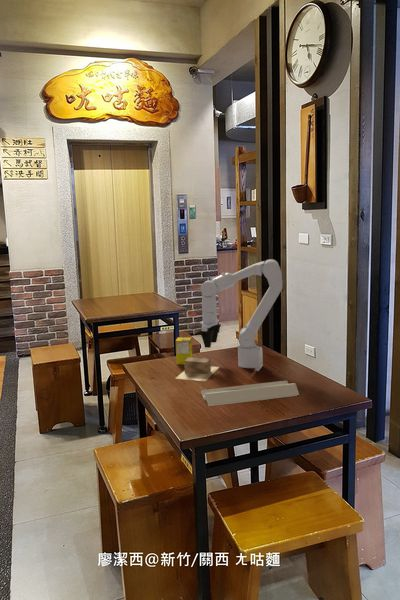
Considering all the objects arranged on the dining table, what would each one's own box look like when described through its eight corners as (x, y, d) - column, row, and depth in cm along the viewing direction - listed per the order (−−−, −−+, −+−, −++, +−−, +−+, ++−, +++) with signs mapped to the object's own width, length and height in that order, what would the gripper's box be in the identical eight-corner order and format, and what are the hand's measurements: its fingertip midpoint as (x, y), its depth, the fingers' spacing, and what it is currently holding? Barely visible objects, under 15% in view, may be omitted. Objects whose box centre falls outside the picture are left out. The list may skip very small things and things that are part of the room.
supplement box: (192, 362, 205) (191, 336, 203) (191, 366, 199) (190, 340, 198) (178, 362, 206) (177, 336, 204) (176, 366, 200) (175, 340, 198)
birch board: (219, 369, 194) (219, 367, 194) (205, 383, 179) (205, 381, 179) (191, 367, 199) (191, 364, 198) (174, 381, 183) (174, 378, 183)
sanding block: (210, 371, 189) (210, 359, 188) (207, 375, 185) (206, 362, 184) (189, 369, 192) (188, 357, 191) (184, 373, 188) (184, 360, 187)
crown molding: (286, 385, 176) (286, 376, 175) (299, 397, 164) (300, 387, 164) (200, 395, 169) (200, 385, 169) (209, 408, 158) (208, 397, 157)
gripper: (205, 307, 202) (206, 339, 204) (193, 314, 188) (195, 349, 191) (222, 307, 199) (223, 340, 202) (211, 315, 186) (212, 350, 188)
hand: (210, 344), depth 196 cm, fingers open, 7 cm apart
